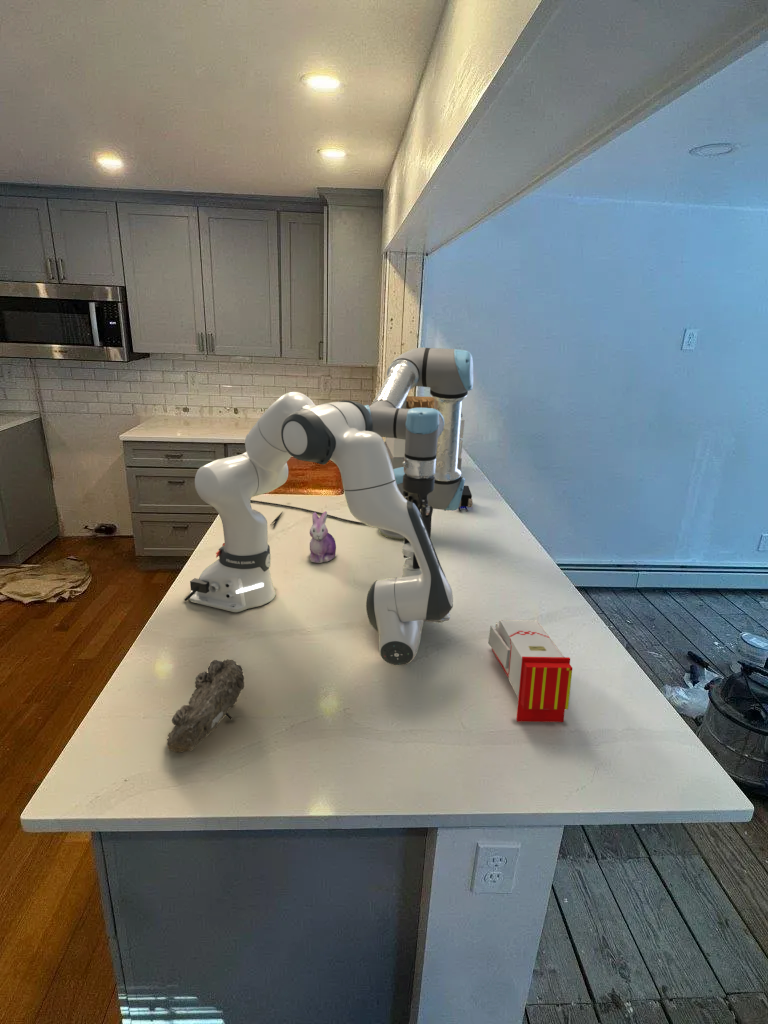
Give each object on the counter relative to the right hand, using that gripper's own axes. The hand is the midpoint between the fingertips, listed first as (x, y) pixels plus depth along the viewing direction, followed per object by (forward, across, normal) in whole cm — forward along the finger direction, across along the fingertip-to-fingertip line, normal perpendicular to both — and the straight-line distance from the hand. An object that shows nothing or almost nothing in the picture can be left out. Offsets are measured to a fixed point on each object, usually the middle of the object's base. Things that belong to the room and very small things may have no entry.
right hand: (413, 562), depth 143 cm
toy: (+15, +33, +13) cm, 38 cm away
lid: (-4, 0, 0) cm, 4 cm away
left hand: (+8, 0, 0) cm, 8 cm away
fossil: (+14, +27, -51) cm, 59 cm away
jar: (+15, 0, 0) cm, 15 cm away
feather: (+15, -80, -21) cm, 84 cm away
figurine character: (+16, -74, +51) cm, 91 cm away
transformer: (+16, -124, +53) cm, 136 cm away
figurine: (+15, -39, -14) cm, 44 cm away
